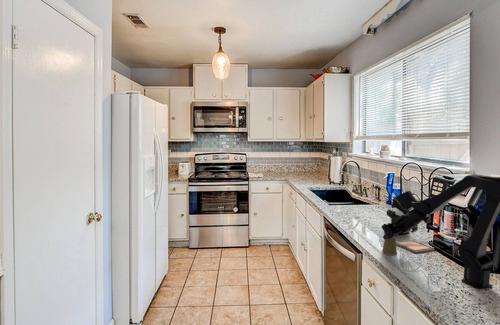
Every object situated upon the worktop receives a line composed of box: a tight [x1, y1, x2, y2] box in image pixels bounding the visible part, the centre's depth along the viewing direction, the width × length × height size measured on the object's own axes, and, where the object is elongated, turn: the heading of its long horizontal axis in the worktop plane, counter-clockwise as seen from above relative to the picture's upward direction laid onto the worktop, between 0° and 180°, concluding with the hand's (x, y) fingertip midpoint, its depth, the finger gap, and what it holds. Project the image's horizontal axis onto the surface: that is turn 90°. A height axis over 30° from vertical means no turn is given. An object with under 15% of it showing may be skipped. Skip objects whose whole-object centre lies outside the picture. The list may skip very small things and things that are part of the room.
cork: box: [381, 231, 398, 256], centre depth 132 cm, size 6×6×11 cm
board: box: [396, 238, 435, 255], centre depth 140 cm, size 12×20×1 cm, turn 108°
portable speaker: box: [390, 195, 411, 226], centre depth 160 cm, size 9×9×20 cm
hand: (387, 237), depth 133 cm, fingers closed on cork, 5 cm apart
